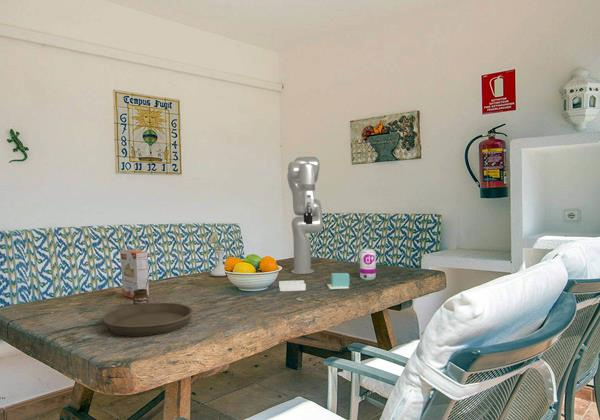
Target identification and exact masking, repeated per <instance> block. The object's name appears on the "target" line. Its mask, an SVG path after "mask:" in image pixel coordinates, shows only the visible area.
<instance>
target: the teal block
mask: <svg viewBox="0 0 600 420" xmlns="http://www.w3.org/2000/svg"><path fill="white" fill-rule="evenodd" d="M330 284H331V285H332V286H333V287H341V286H348V287H350V274H349V273H348V272H336V273H335V272H334V273H333V272H332V273H331V274H330Z"/></svg>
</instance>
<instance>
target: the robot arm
mask: <svg viewBox="0 0 600 420" xmlns="http://www.w3.org/2000/svg"><path fill="white" fill-rule="evenodd" d="M320 167H321V166H320V160H319V159H318V157H316V156H299V157H296V158H295V159H294V161H290V162H289V163H288V166H287V175H286V176H287V177H286V178H287V182H288V185H289V186H288V187H289V189H290V191H291V194H292V195H291V196H292V209H293V213H294V215H296V216H295V217H293V219H292V221H291V228H292V230H291V231H292V235H293V237H292V238H293V240H292V241H293V269H291V274H295V275H309V274H312V273H314V271H315V270H314V269H312V268H311V267H312V263H311V258H312V257H311V255H312V254H311V240H310V238H309V237H308V235H307V234H319V233H322V231H323V228H324V224H323V223H324V222H323V213H322V211H323V210H322V204H321V201H320V200H319V199H317V198H315V196H314V192H316V183H317V182H318V179H319V172H320Z"/></svg>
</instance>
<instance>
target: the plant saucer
mask: <svg viewBox="0 0 600 420" xmlns="http://www.w3.org/2000/svg"><path fill="white" fill-rule="evenodd" d="M193 315H194V309H193V308H192V307H191V306H189V305H187V304H183V303H175V302H149V303H147V304H138V305H133V304H132V305H128V306H122V307H118V308H116V309H114V310H111V311H109V312H107V313H105V314H104V315H103V316H102V318H101V320H102V323H103V325H104V326H105V327H106V328H108V329H109V331H111V332H112V333H113V334H117V335H119V336H127V335H128V336H129V337H131V336H132V337H137V336H138V337H139V336H141V337H143V336H142V335H145V336H152V335H153V336H154V335H158V334H159V335H160V334H165V333H169V332H173V331H176V330H178V329H181V328H183V327H184V326H186V324H187V323H188V321H189V320H190V319H192V317H193Z"/></svg>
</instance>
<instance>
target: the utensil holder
mask: <svg viewBox="0 0 600 420" xmlns="http://www.w3.org/2000/svg"><path fill="white" fill-rule="evenodd" d="M149 277H150V276H148V279H149ZM148 279H147V283H146V287H147V284H148ZM136 282H138V281H136ZM137 284H139V283H137ZM133 285H134V284H133ZM136 288H137V287H136ZM138 288H139V287H138ZM132 302H133V304H132V305H138V304H147V303H150V302H149V298H148V294H147V289H146V288H145V289H137V290H134V296H133V301H132Z"/></svg>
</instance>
